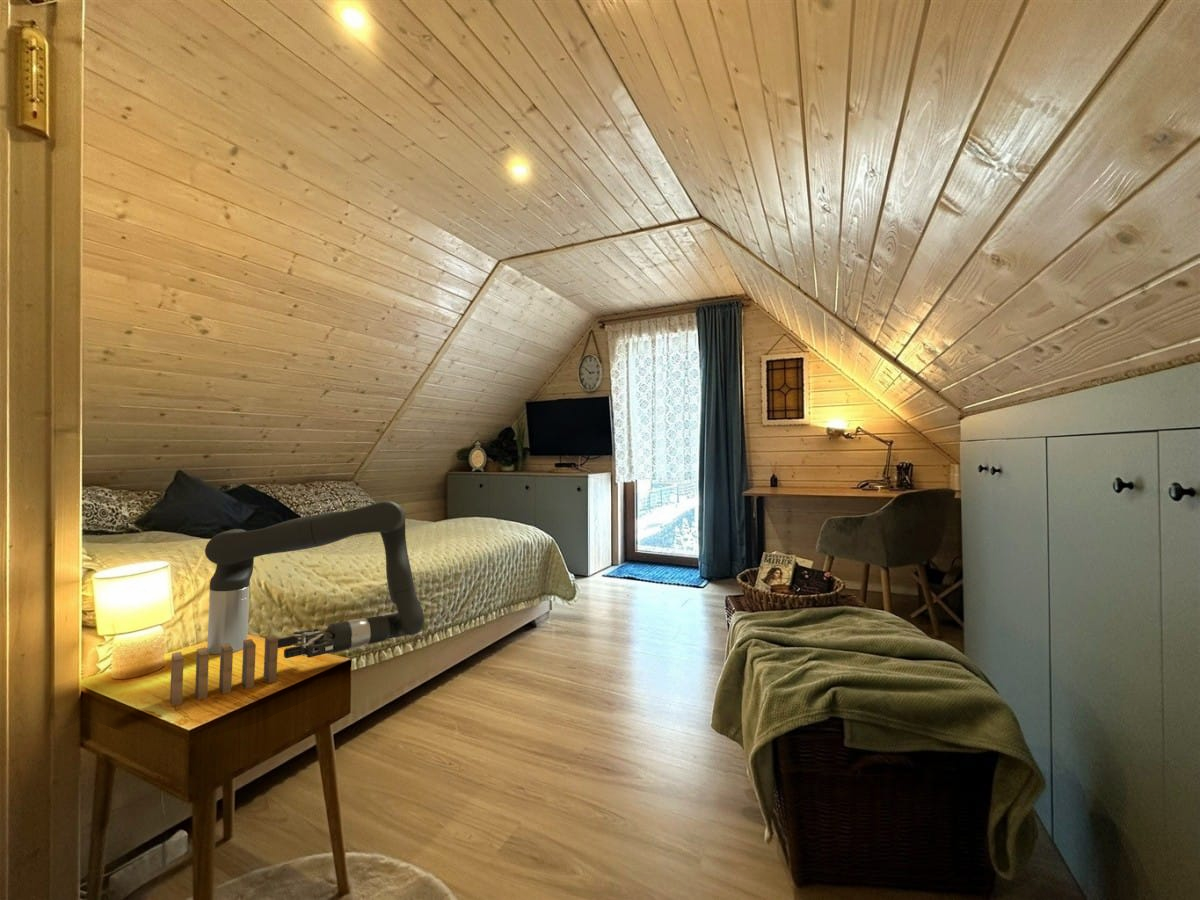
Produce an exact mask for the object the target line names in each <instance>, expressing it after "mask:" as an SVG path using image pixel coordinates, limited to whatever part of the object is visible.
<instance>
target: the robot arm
mask: <svg viewBox="0 0 1200 900" xmlns="http://www.w3.org/2000/svg"><path fill="white" fill-rule="evenodd" d="M370 533H379V534H380V536H381V539H382V542H383V547H384V552H385V572H386V582H387V588H388V593H389V597H390V601H391V603H392V604H394V605H395V606H396V609H397V612H394V613H389V614H386V615H377V616H376V615H375V616H370V617H369V616H368V617H365V618H355V619H348V620H344V621H338V622H332V623H329V624H328V626H327V628H326V629H325V631H320V630H319V628H312V629H306V630H300V631H294V632H293V634H292V636H291V635H290V636H287V637H286V636H285V637H281V638H276V639H277V640H278V649H282V648H285V649H284V650H283V657H284V658H285V659H290V658H295V657H299V656H302V657H307V658H314V657H316V656H321V655H326V654H329V653H331V654H335V653H339V652H345V651H348V650H353V649H358V648H361V647H364V646H367V645H372V644H375V643H379V642H383V641H385V640H388V639H395V638H401V637H407V636H414V635H417V634H419V633H420V632H421V631H422V630H423V628H424V625H425V615H424V614H425V613H424V611H423V607H422V606H421V603H420V599H419V598H418V596H417V593H416V589H415V582H414V577H413V573H412V569H411V564H410V559H409V554H408V548H407V539H406V538H407V536H406V512H405V509H404V508H402V506H401V505H399V504H398V503H396V502H394V501H392V500H383V501H379V502H376V503H372V504H370V505H367V506H366V505H365V506H363V507H359V508H355V509H351V510H344V511H343V510H342V511H332V512H325V513H318V514H311V515H307V516H302V517H297V518H293V519H289V520H286V521H283V522H279V523H277V524H273V525H270V526H267V527H262V528H260V529H253V530H245V529H243V528H242V529H241V528H233V529H229V530H226V531H222V532H220V533H217V534H216V535H214V536H213V537H212V538H210V539H209V540H208V542H207V544H206V546H205V547H204V548H205V549H204V554H205V557H206V558H207V560H209V561H210V562H211V563H213V564H215V565H216V566H215V567H216V568H215V571H214V574H213V575H212V577H211V578H210V580H209V595H208V596H209V598H208V599H209V600H208V603H209V604H208V621H207V623H208V624H207V625H208V626H207V640H206V641H207V644H206V649H207V651H208V653H209V655H210V654H211V655H220V653H221V644H226V643H229V644H230V645H231V647H232V648H233V653H236V652H240V651H243V640H248V635H249V633H248V632H249V611H250V610H249V609H250V584H251V583H250V581H251V577H252V575H253V571H254V562H255V558H256V557H257V558H258V557H261V556H267V555H273V554H281V553H289V552H295V551H301V550H307V549H312V548H313V549H314V548H317V547H319V548H320V547H323V546H326V545H330V544H334V543H336V542H339V541H341V540H343V539H347V538H350V537H352V536H355V535H356V536H358V535H363V534H370ZM286 647H287V648H286Z"/></svg>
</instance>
